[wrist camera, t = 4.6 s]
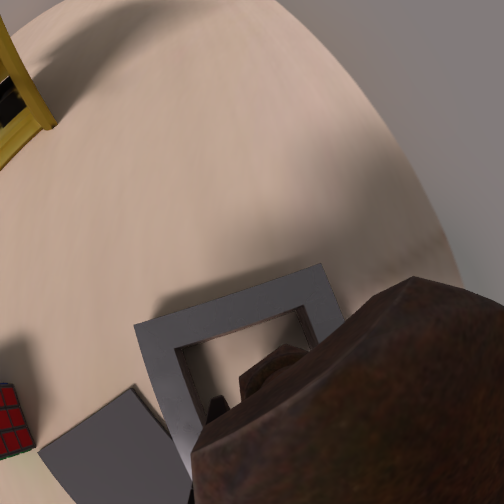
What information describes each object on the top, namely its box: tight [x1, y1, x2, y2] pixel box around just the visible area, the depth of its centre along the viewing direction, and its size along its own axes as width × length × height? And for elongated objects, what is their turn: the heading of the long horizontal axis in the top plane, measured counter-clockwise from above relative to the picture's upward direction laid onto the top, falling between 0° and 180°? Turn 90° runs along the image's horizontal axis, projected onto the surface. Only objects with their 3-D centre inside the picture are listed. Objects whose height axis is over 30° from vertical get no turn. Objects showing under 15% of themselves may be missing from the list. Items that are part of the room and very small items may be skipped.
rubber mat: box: [37, 388, 192, 504], centre depth 14 cm, size 12×12×1 cm
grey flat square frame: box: [134, 263, 345, 479], centre depth 16 cm, size 12×12×2 cm
